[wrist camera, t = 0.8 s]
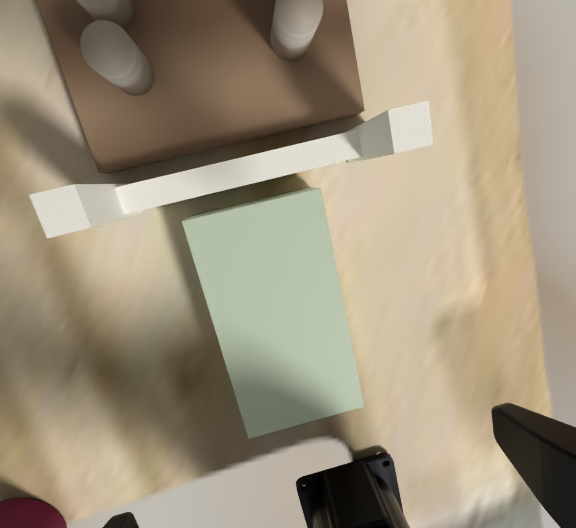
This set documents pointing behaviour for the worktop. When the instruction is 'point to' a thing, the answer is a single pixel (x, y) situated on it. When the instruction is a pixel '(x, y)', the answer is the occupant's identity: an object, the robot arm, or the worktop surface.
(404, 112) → the u-shaped frame
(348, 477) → the robot arm
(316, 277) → the board
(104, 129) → the peg stand
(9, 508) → the cup
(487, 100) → the worktop surface
